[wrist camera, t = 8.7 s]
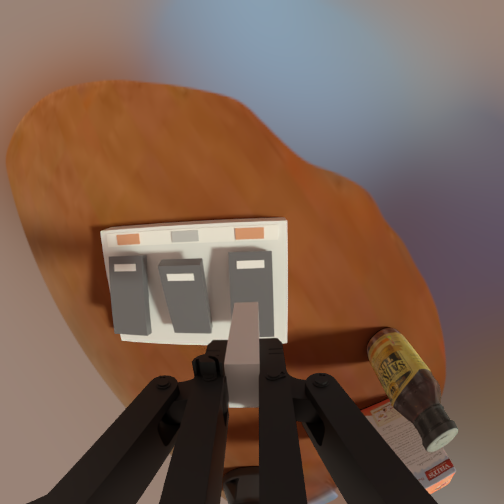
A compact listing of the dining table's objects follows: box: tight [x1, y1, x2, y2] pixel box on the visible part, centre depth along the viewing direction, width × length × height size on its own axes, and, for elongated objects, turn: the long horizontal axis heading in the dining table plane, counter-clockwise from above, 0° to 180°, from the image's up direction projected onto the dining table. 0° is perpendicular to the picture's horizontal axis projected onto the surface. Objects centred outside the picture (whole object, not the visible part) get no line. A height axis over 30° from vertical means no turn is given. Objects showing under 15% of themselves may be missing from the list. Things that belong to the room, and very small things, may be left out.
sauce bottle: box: [367, 328, 458, 452], centre depth 27 cm, size 7×6×20 cm
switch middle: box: [158, 258, 213, 334], centre depth 29 cm, size 9×4×2 cm, turn 3°
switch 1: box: [109, 255, 152, 336], centre depth 29 cm, size 9×4×2 cm, turn 2°
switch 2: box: [228, 251, 274, 337], centre depth 29 cm, size 9×4×2 cm, turn 2°
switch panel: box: [100, 217, 288, 345], centre depth 32 cm, size 15×22×4 cm
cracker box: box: [360, 399, 456, 494], centre depth 30 cm, size 14×6×21 cm, turn 110°
